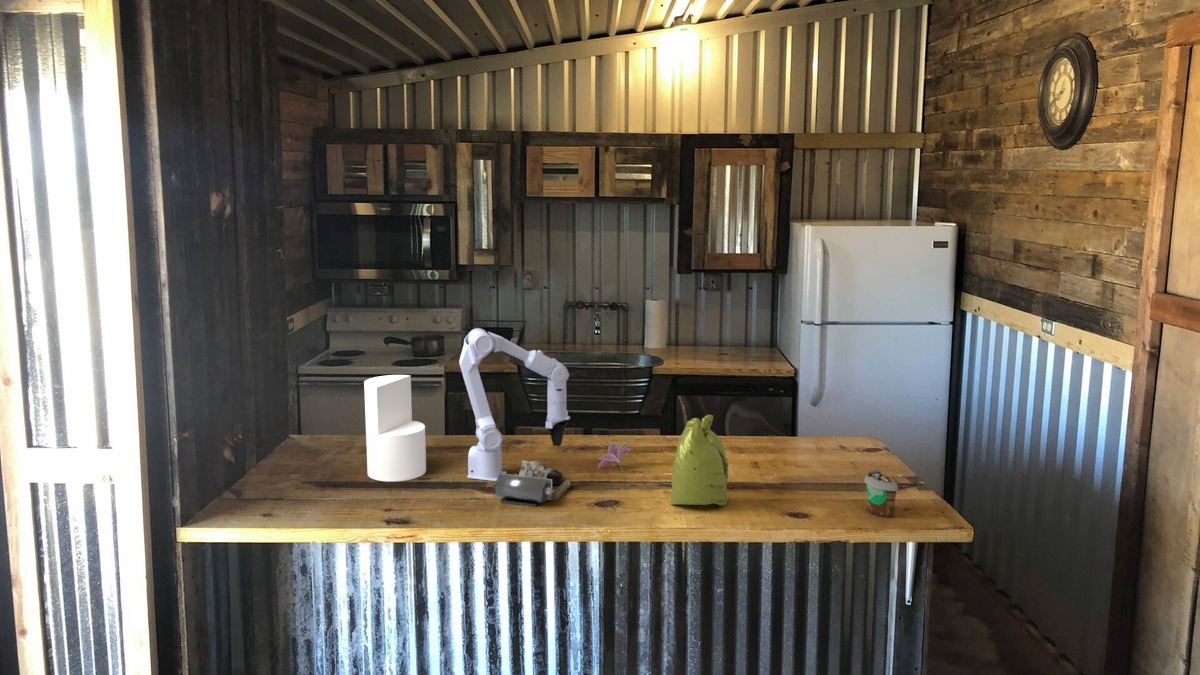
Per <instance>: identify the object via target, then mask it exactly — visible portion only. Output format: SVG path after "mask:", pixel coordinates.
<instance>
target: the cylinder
mask: <svg viewBox="0 0 1200 675" xmlns="http://www.w3.org/2000/svg"><path fill="white" fill-rule="evenodd" d="M411 376H412V375H407V374H391V375H389V374H388V375H381V376H374V377H370V378H368V379H366V380H364V381H363V383H364V385H363V386H364V387H363V388H364V391H363V392H364V412H365V414H364V416H365V417H364V418H365V441H366V444H365V445H366V466H367V468H366V470H367V477H369V478H370V479H372V480H376V481H380V482H403V481H405V482H406V481H409V480H413V479H416V478H417V479H418V478H420V477H422V476H423V475H425V474H426V472H427V457H426V456H427V452H426V451H427V449H426V448H427V447H426V425H425V423H422V422H421V421H417V420H413V413H412V412H413V411H412V378H411Z"/></svg>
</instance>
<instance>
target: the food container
mask: <svg viewBox="0 0 1200 675" xmlns="http://www.w3.org/2000/svg"><path fill="white" fill-rule="evenodd" d="M864 477H865V478H864V480H863V481H864V483H865V484H866V510H867V512H868V513H869V514H871V515H873V516H876V517H881V518H886V519H888V518H889V519H893V518H894V514H895V504H896V497H897V492H898V483H897V482H892V481H891V479H890V478H889V477H888V476H885V475H884V474H882V472H881V468H880V469H877V468H876V469H871V470H869V471H867V473H866V474H865V476H864Z"/></svg>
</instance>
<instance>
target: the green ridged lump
mask: <svg viewBox="0 0 1200 675" xmlns="http://www.w3.org/2000/svg"><path fill="white" fill-rule="evenodd" d="M713 420H714V415H712V414H706V415H704V416H703V417H702V418H701V419H700V418H697V417H693V418H691V419H690V420H688V421H687V422H686V425H685V426H684V430H683V431H682V434H680V436H679V438H678V442H677V445H676V453H675V458H674V459H673V460H674V461H673V469H672V477H671V495H670V496H671V497H670V504H671V505H673V506H674V505H676V506H677V505H686V506H689V505H690V506H691V505H692V506H693V505H695V506H696V505H698V506H699V505H702V506H706V505H712V504H715V505H718V506H725V505H726V504H727V501H728V488H727V487H728V479H729V460H728V458H727V455H726V451H725V448H724V444H723V442H722V439H721V438H720V437H719V436H718V435H717V434H716V433H715V432H714V431H713V430H711V426H712V423H713Z"/></svg>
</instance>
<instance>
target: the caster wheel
mask: <svg viewBox="0 0 1200 675" xmlns="http://www.w3.org/2000/svg"><path fill="white" fill-rule="evenodd" d="M520 465H521V466H520V469H519V473H518V476H527V477H536V478H545V479H552V485H553V484H554V485H559V484H560V485H561V484H562V479H563V476H564V475H563V473H562V472H560V471H559V470H557V469H554V468H551V467H547V466H546V465H545V463H544V462H542V461H540V460H532V461H528V460H525V459H524V460H522V461H521V464H520Z"/></svg>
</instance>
